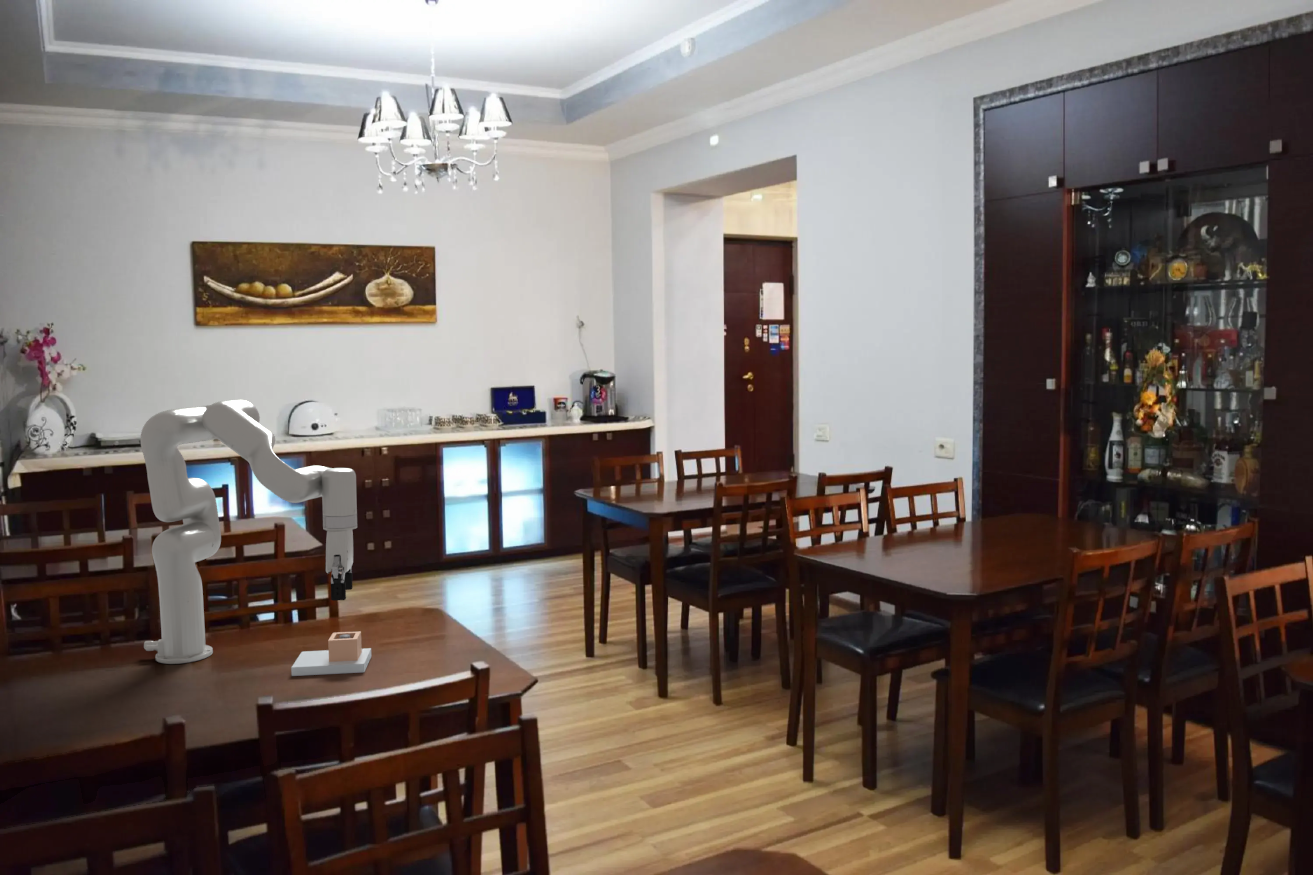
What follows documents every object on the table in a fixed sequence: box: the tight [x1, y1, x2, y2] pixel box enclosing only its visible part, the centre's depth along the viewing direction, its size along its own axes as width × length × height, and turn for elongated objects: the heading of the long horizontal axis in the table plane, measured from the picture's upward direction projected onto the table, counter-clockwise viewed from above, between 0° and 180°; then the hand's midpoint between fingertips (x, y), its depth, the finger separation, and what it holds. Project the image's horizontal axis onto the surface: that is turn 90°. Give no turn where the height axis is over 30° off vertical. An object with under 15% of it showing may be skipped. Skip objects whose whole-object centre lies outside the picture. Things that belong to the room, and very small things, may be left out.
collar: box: [327, 630, 363, 662], centre depth 241 cm, size 6×6×5 cm
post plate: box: [290, 634, 372, 677], centre depth 241 cm, size 16×12×7 cm
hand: (342, 594), depth 240 cm, fingers open, 9 cm apart
